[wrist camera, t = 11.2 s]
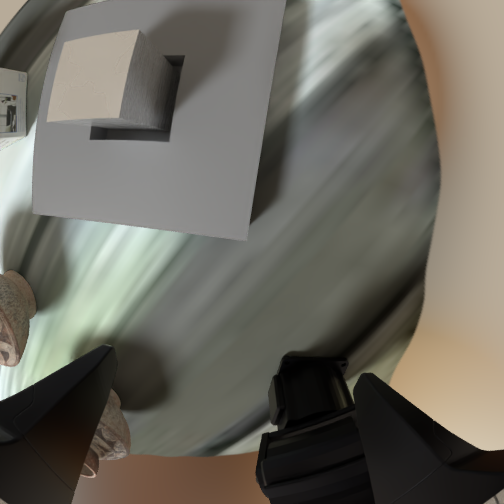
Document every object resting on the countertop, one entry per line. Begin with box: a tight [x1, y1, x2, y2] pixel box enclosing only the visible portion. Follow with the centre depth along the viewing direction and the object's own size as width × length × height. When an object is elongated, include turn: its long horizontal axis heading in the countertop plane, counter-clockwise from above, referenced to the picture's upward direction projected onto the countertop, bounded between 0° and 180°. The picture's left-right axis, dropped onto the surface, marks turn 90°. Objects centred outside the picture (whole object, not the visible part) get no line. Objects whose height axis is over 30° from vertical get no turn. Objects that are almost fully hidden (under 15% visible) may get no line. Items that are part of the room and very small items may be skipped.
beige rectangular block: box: [47, 30, 180, 131], centre depth 12 cm, size 4×4×8 cm
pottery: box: [0, 270, 131, 478], centre depth 18 cm, size 11×25×12 cm, turn 28°
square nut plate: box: [32, 0, 286, 241], centre depth 15 cm, size 16×16×3 cm
